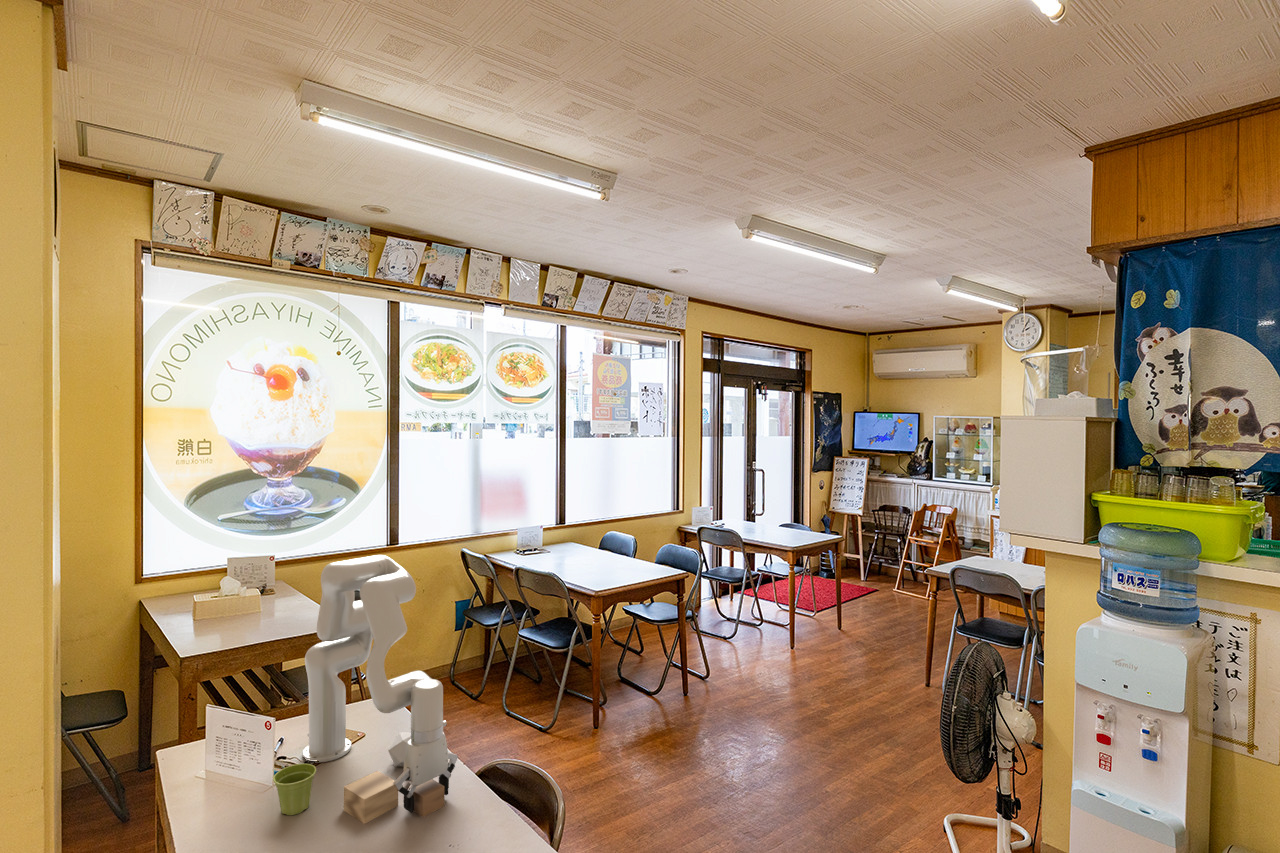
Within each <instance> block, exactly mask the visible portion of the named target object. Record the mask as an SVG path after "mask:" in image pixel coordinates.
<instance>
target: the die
mask: <svg viewBox="0 0 1280 853" xmlns="http://www.w3.org/2000/svg"><path fill="white" fill-rule="evenodd" d="M409 740H411V731H410V732H408V731H407V732H406V731H405V732H403V731H402V732H401V731H400V732H398V734H397V735H396V737H395V738H394V740H393V741H392V743H391V745H390V746H389V748H388V751H387V752H388V753H389V755H390V759H391V761H392V762H393V764H394V766H395V767H404V759H405V751H406V747H407V743H408V741H409Z"/></svg>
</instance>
